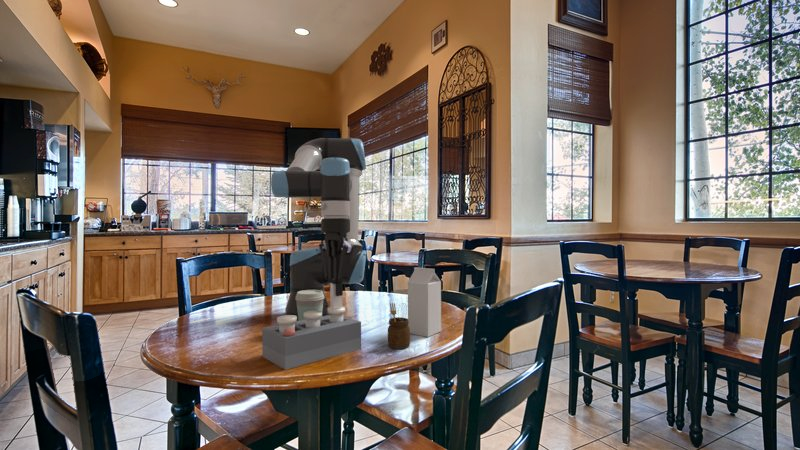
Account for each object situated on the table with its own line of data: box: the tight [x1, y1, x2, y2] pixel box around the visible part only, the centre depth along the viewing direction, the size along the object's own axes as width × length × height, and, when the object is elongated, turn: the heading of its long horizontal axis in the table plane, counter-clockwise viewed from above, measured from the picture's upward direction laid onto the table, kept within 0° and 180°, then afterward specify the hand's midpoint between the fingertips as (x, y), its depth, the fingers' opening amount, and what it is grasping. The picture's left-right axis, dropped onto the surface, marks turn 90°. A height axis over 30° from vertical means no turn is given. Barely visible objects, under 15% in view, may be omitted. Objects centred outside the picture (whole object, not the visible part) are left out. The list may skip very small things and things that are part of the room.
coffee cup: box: [295, 290, 325, 321], centre depth 119 cm, size 8×9×12 cm
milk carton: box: [407, 266, 442, 338], centre depth 118 cm, size 7×7×19 cm
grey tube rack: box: [261, 314, 362, 371], centre depth 100 cm, size 12×21×8 cm, turn 133°
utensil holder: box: [387, 302, 411, 350], centre depth 105 cm, size 6×6×12 cm
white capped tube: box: [276, 315, 298, 334], centre depth 96 cm, size 5×5×7 cm
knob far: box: [328, 306, 346, 323], centre depth 105 cm, size 5×5×7 cm
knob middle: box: [303, 311, 322, 329], centre depth 100 cm, size 5×5×7 cm
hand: (336, 307), depth 105 cm, fingers closed
